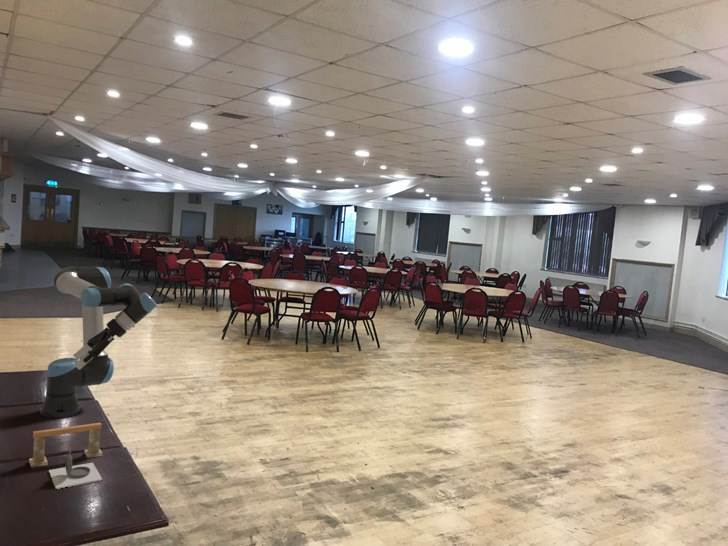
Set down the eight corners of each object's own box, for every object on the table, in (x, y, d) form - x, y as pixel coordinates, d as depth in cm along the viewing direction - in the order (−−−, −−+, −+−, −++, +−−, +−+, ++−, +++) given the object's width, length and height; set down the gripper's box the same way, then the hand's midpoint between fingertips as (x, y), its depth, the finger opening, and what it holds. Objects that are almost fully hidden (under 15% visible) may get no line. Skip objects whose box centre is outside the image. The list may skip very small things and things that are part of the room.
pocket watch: (94, 472, 192) (96, 444, 191) (74, 482, 184) (76, 453, 183) (76, 466, 194) (78, 439, 194) (56, 475, 187) (57, 447, 186)
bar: (33, 438, 192) (33, 433, 192) (32, 436, 193) (33, 431, 193) (101, 428, 206) (101, 424, 206) (100, 427, 207) (100, 422, 207)
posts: (31, 467, 191) (32, 440, 190) (29, 462, 195) (30, 434, 194) (102, 455, 206) (103, 430, 205) (98, 450, 210) (100, 425, 209)
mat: (48, 471, 190) (48, 470, 190) (92, 464, 199) (92, 462, 199) (56, 489, 179) (56, 488, 179) (102, 480, 188) (102, 479, 188)
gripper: (131, 338, 209) (84, 378, 203) (124, 324, 231) (81, 360, 225) (117, 324, 206) (69, 364, 200) (111, 311, 228) (68, 347, 222)
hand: (75, 362), depth 212 cm, fingers open, 13 cm apart
